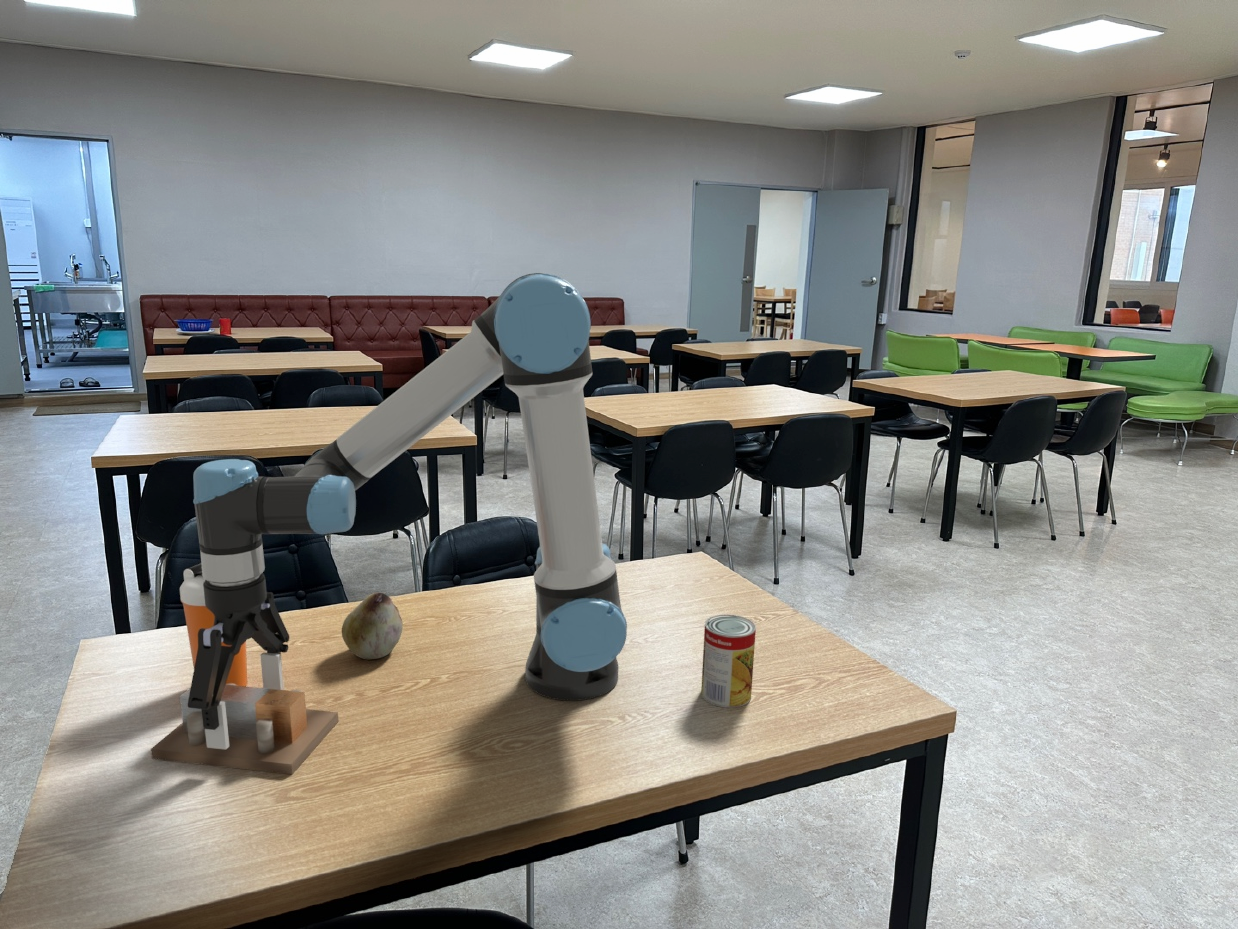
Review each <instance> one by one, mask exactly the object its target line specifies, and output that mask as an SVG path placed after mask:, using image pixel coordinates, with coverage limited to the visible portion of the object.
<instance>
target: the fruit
mask: <svg viewBox="0 0 1238 929" xmlns="http://www.w3.org/2000/svg"><path fill="white" fill-rule="evenodd" d="M403 623H404V622H403V619H402V617H401V615H400V610H399V608H398V607H397V606H396V605H395V604H394V602H393V600H392V598H391V597H390V596H389V595H387V594H386V593H384V592H374V593H371V594H369V595H368V596H366V597H365V598H364V599H362V601H361V602H360V603H359V604H358V605H357V606H356V607H355V608H354V609H353V610H351V611H350V612H349V613H348V614H347V616H346V617H345V619H344V620H343V623H342V626H341V637H342V639H343V641H344V643H345V645H346V647H347V648H348V650H350V652H351V653H352V654H354V655H355V656H356V657H358V658H361V659H363V660H376V659H381V658H383V657H386V656H387V655H389V654H390V653H392V651H393V650H394V648H395V647H396V645H397V644H398V643H399V641H400V639H401V636H402V633H403V625H404V624H403Z"/></svg>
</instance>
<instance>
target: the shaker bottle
mask: <svg viewBox="0 0 1238 929" xmlns="http://www.w3.org/2000/svg"><path fill="white" fill-rule="evenodd" d="M183 580H184V581H183V582H182V584H181V585H180V587H179V595H180V602H181V603H182V606H183V611H184V618H185V622H186V623H185V624H186V628H187V636H188V640H189V647H190V648H189V649H190V653H191V654H190V655H191V660H192V664H193V668H194V667H195V662H196V656H197V651H198V631H199V630H200V629H201V628H204V629H209V628H211V627H213V625H214V619H215V616H214V614H213V613H212V612H211V611H210V610H209V609H207V607H206V605H205V597H204V588H203V583H204V582H205V579H204V578H203V575H202V563H201V562H200V563H199V564H195V565H194V566H191V567H188V568H186V569H184V570H183ZM221 646H229V647H230V646H231V645H226V644H224V643H223V642H221ZM247 660H248V658H247V640H246V641H245V643H244V644H243V645H241V648H240V651H239V653H238V654H236V655H235V656H234V659H233V662H232V665H231V669H230V672H229V675H228V678H227V681H226V684H230V683H234V684H236V685H237V686H246V687H248V686H247V685H248V663H247Z"/></svg>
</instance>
